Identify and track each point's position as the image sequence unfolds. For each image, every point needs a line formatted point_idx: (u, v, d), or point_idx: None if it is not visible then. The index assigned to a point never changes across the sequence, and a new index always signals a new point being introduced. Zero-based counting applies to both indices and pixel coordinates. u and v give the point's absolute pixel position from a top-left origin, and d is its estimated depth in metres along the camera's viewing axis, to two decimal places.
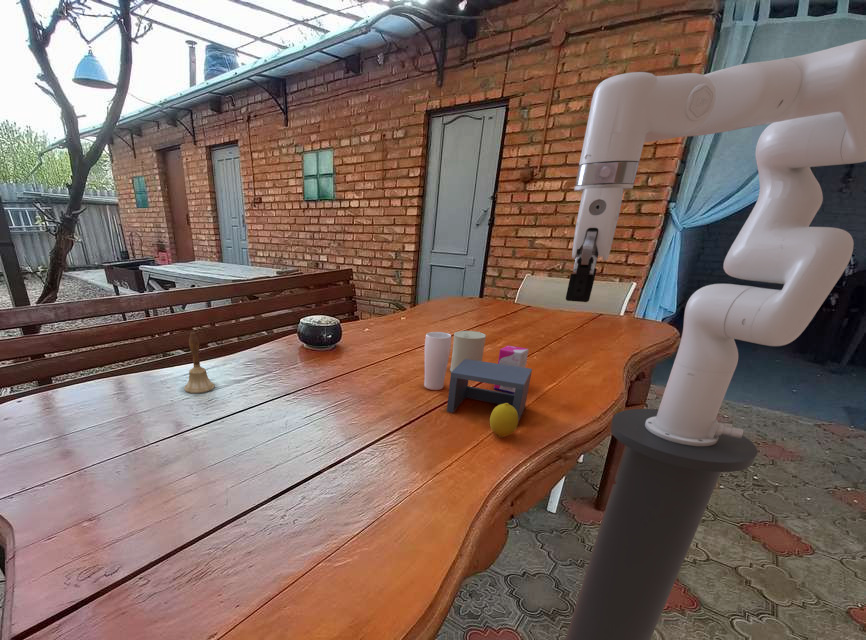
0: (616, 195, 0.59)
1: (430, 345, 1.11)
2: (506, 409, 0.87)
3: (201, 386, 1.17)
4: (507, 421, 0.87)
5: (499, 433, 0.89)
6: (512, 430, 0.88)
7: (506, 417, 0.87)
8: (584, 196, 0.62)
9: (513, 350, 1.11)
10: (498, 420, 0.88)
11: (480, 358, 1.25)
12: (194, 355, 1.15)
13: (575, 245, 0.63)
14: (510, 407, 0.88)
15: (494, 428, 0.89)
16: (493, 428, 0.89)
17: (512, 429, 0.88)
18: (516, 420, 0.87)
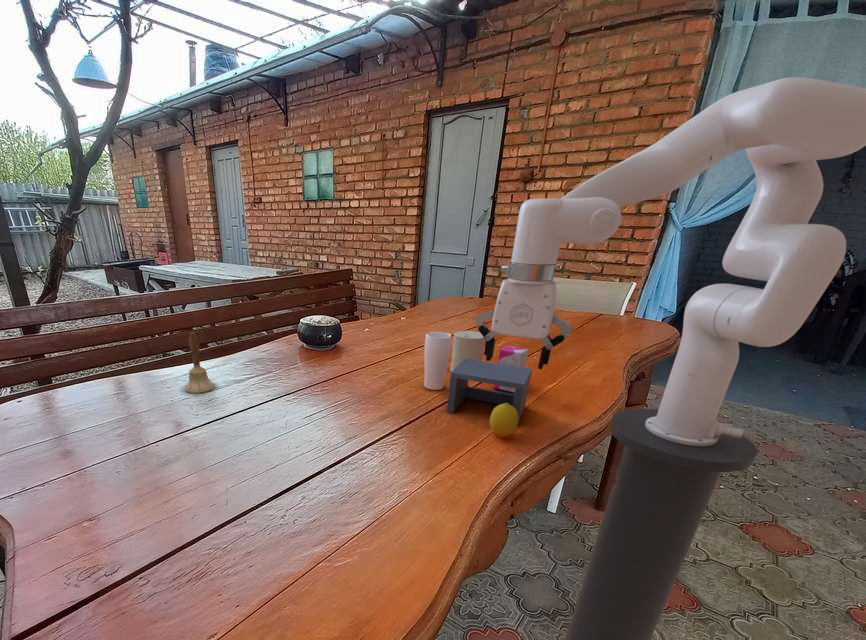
0: (501, 287, 0.79)
1: (430, 345, 1.11)
2: (506, 409, 0.87)
3: (201, 386, 1.17)
4: (507, 421, 0.87)
5: (499, 433, 0.89)
6: (512, 430, 0.88)
7: (506, 417, 0.87)
8: None
9: (513, 350, 1.11)
10: (498, 420, 0.88)
11: (480, 358, 1.25)
12: (194, 355, 1.15)
13: None
14: (510, 407, 0.88)
15: (494, 428, 0.89)
16: (493, 428, 0.89)
17: (512, 429, 0.88)
18: (516, 420, 0.87)
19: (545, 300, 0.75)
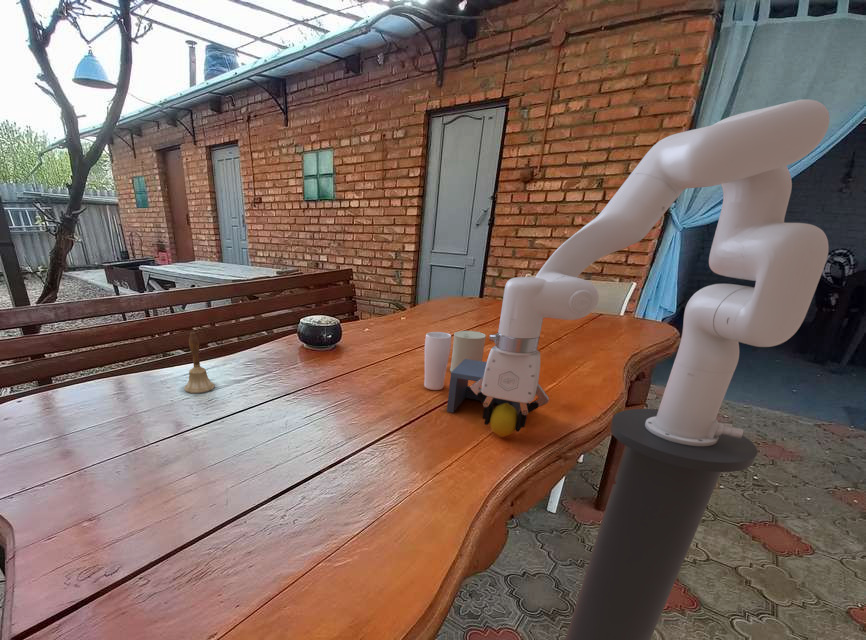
0: (490, 354, 0.84)
1: (430, 345, 1.11)
2: (506, 409, 0.87)
3: (201, 386, 1.17)
4: (507, 421, 0.87)
5: (499, 433, 0.89)
6: (512, 430, 0.88)
7: (506, 417, 0.87)
8: None
9: None
10: (498, 420, 0.88)
11: (480, 358, 1.25)
12: (194, 355, 1.15)
13: None
14: (510, 407, 0.88)
15: (494, 428, 0.89)
16: (493, 428, 0.89)
17: (512, 429, 0.88)
18: (516, 420, 0.87)
19: (530, 369, 0.81)
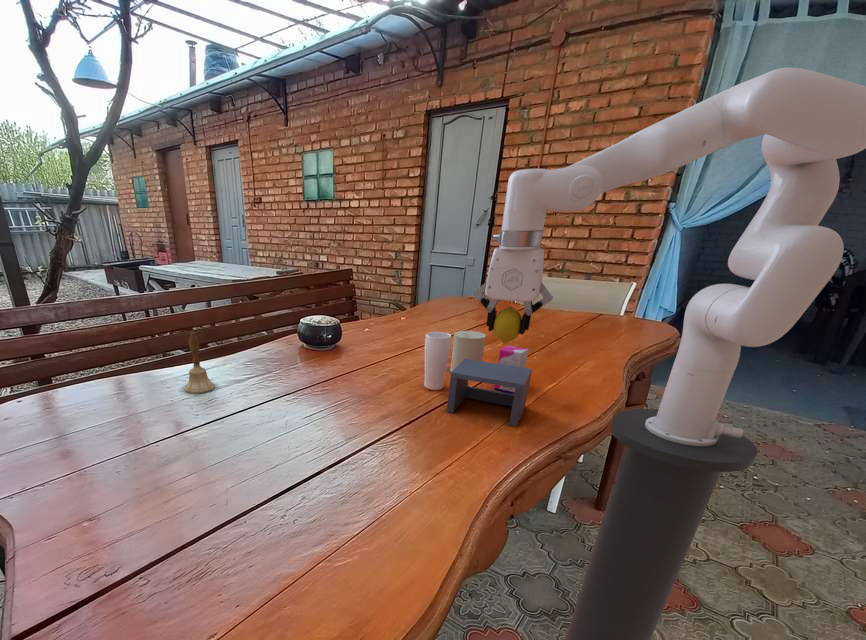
0: (493, 254, 0.85)
1: (430, 345, 1.11)
2: (510, 312, 0.87)
3: (201, 386, 1.17)
4: (511, 323, 0.87)
5: (503, 337, 0.89)
6: (516, 333, 0.88)
7: (510, 319, 0.87)
8: None
9: (513, 350, 1.11)
10: (502, 323, 0.88)
11: (480, 358, 1.25)
12: (194, 355, 1.15)
13: None
14: (514, 310, 0.88)
15: (498, 332, 0.89)
16: (497, 333, 0.89)
17: (516, 332, 0.88)
18: (520, 323, 0.88)
19: (534, 264, 0.81)
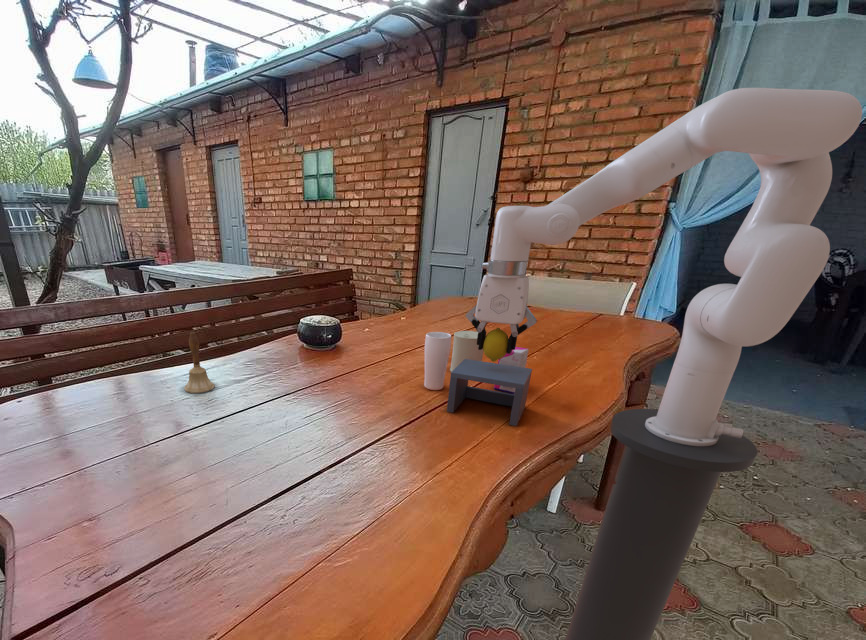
0: (483, 280, 0.93)
1: (430, 345, 1.11)
2: (498, 333, 0.95)
3: (201, 386, 1.17)
4: (498, 343, 0.95)
5: (491, 356, 0.97)
6: (503, 352, 0.96)
7: (498, 339, 0.95)
8: None
9: (513, 350, 1.11)
10: (490, 343, 0.96)
11: (480, 358, 1.25)
12: (194, 355, 1.15)
13: None
14: (501, 331, 0.96)
15: (487, 351, 0.97)
16: (486, 352, 0.97)
17: (503, 351, 0.96)
18: (507, 343, 0.96)
19: (519, 291, 0.89)
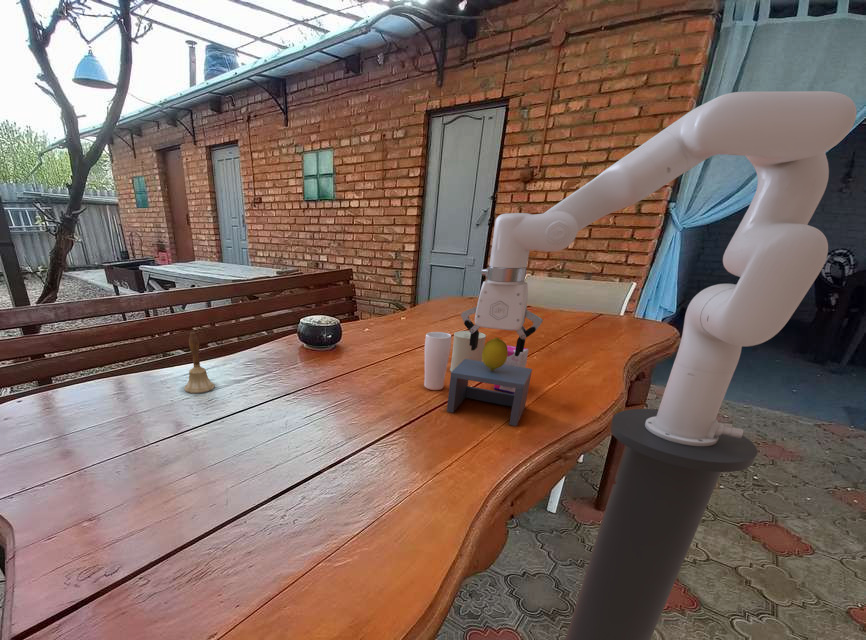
0: (482, 287, 0.93)
1: (430, 345, 1.11)
2: (497, 342, 0.96)
3: (201, 386, 1.17)
4: (497, 353, 0.96)
5: (490, 365, 0.98)
6: (502, 362, 0.97)
7: (497, 349, 0.96)
8: None
9: (513, 350, 1.11)
10: (489, 352, 0.97)
11: (480, 358, 1.25)
12: (194, 355, 1.15)
13: None
14: (500, 341, 0.96)
15: (486, 360, 0.98)
16: (485, 361, 0.98)
17: (502, 361, 0.97)
18: (506, 352, 0.96)
19: (518, 298, 0.90)
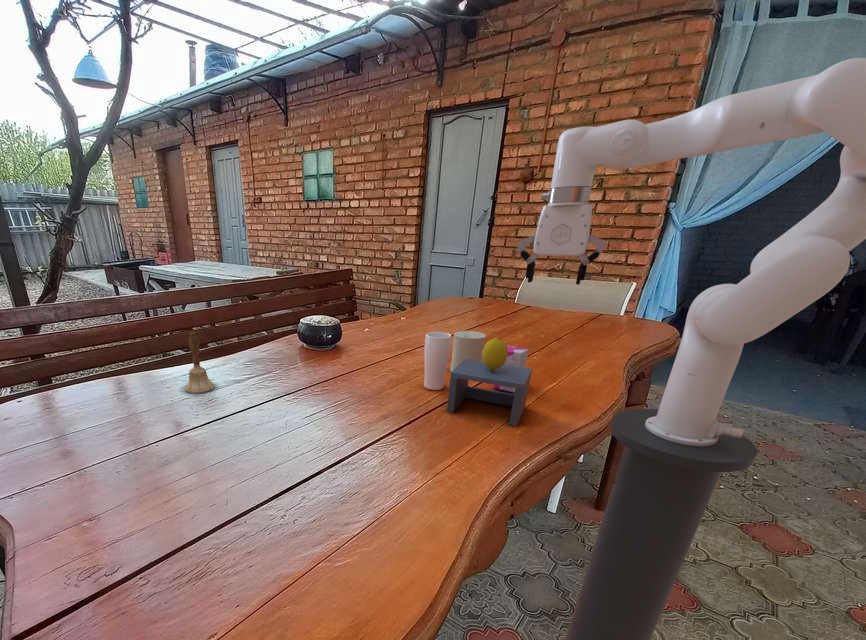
0: (542, 211, 0.90)
1: (430, 345, 1.11)
2: (497, 342, 0.96)
3: (201, 386, 1.17)
4: (497, 353, 0.96)
5: (490, 365, 0.98)
6: (502, 362, 0.97)
7: (497, 349, 0.96)
8: None
9: (513, 350, 1.11)
10: (489, 352, 0.97)
11: (480, 358, 1.25)
12: (194, 355, 1.15)
13: (536, 243, 0.95)
14: (500, 341, 0.96)
15: (486, 360, 0.98)
16: (485, 361, 0.98)
17: (502, 361, 0.97)
18: (506, 352, 0.96)
19: (583, 219, 0.86)
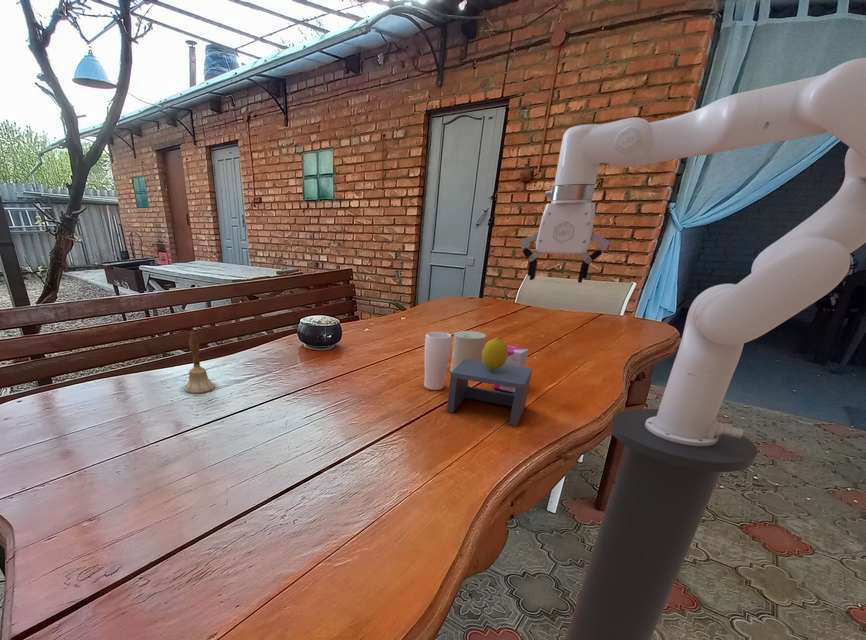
0: (545, 209, 0.90)
1: (430, 345, 1.11)
2: (497, 342, 0.96)
3: (201, 386, 1.17)
4: (497, 353, 0.96)
5: (490, 365, 0.98)
6: (502, 362, 0.97)
7: (497, 349, 0.96)
8: None
9: (513, 350, 1.11)
10: (489, 352, 0.97)
11: (480, 358, 1.25)
12: (194, 355, 1.15)
13: None
14: (500, 341, 0.96)
15: (486, 360, 0.98)
16: (485, 361, 0.98)
17: (502, 361, 0.97)
18: (506, 352, 0.96)
19: (586, 217, 0.86)
